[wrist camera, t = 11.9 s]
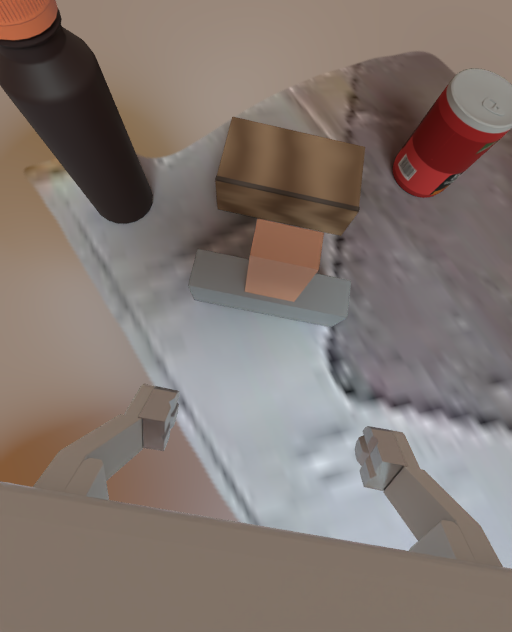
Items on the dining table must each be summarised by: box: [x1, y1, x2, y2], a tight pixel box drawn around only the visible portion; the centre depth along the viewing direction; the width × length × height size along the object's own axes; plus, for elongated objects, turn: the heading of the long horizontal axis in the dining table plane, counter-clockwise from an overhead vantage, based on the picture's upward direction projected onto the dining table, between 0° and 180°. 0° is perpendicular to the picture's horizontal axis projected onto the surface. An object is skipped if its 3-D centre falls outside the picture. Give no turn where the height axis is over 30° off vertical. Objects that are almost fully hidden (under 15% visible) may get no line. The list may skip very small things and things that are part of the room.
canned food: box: [393, 68, 512, 198], centre depth 33 cm, size 8×8×11 cm
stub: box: [188, 219, 351, 327], centre depth 26 cm, size 16×4×13 cm, turn 79°
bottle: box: [0, 0, 152, 223], centre depth 24 cm, size 7×7×20 cm
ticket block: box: [215, 117, 365, 236], centre depth 34 cm, size 16×9×5 cm, turn 79°
